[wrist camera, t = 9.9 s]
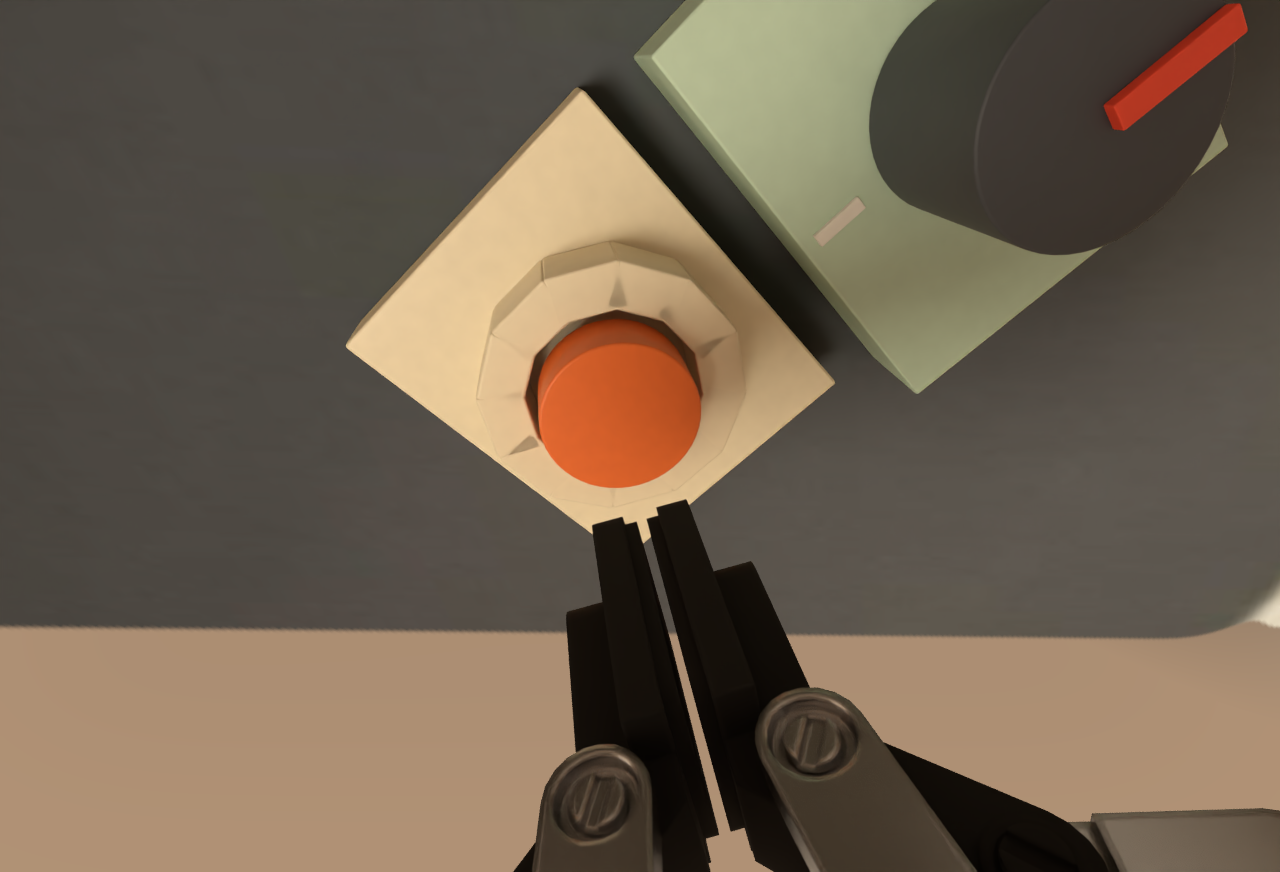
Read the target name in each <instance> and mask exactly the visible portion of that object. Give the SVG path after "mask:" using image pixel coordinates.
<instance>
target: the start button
mask: <svg viewBox="0 0 1280 872" xmlns="http://www.w3.org/2000/svg"><path fill="white" fill-rule="evenodd" d="M538 417H539V429H540V434H541V438H542V441H543V443H544V446H545V448H546V450H547V452H548V453H549V455H550V456H551V458H552V459H553V460H554V461H555V463H556V464H557V465H558V466H559V467H560V468H562V469H563V470H564V471H565V472H567V473H568V474H569V475H571V476H572V477H574V478H576V479H578V480H580V481H582V482H585V483H588V484H590V485H594V486H599V487H606V488H625V487H632V486H637V485H641V484H644V483H647V482H649V481H652V480H654V479H656V478H658V477H660V476H661V475H663V474H665V473H666V472H668V471H669V470H670V469H672V468H673V467H674V466H675V465H676V464H677V463H678V462H679V461H681V459H682V458H683V457H684V456H685V455H686V453H687V452H688V450H689V449H690V447H691V446H692V444H693V442H694V440H695V438H696V435H697V432H698V429H699V426H700V420H701V401H700V396H699V392H698V389H697V386H696V384H695V382H694V380H693V378H692V376H691V374H690V372H689V370H688V368H687V366H686V364H685V362H684V360H683V358H682V357H681V355H680V353H679V352H678V350H677V348H676V347H675V346H674V345H673V343H672V342H671V341H670V340H669V339H668V338H667V337H666V336H664V335H663V334H662V333H660V332H659V331H657V330H656V329H654V328H652V327H650V326H648V325H646V324H643V323H640V322H637V321H632V320H626V319H607V320H601V321H596V322H593V323H590V324H587V325H584V326H582V327H580V328H578V329H576V330H574V331H573V332H571V333H570V334H568V335H567V336H566V337H564V338H563V339H562V340H561V341H560V342H559V343H558V344H557V345H556V346H555V347H554V348H553V349H552V351H551V352H550V354H549V355H548V357H547V358H546V360H545V362H544V364H543V367H542V370H541V373H540V376H539V382H538Z"/></svg>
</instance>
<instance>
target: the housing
mask: <svg viewBox="0 0 1280 872" xmlns="http://www.w3.org/2000/svg"><path fill="white" fill-rule="evenodd" d="M607 319H626V320H632V321H637V322H640V323H643V324H646V325H648V326H650V327H652V328H654V329H656V330H657V331H659V332H660V333H662V334H663V335H664V336H666V337H667V338H668V339H669V340H670V341H671V342H672V343H673V345H674V346H675V347H676V348H677V350H678V352H679V353H680V355H681V357H682V358H683V360H684V362H685V364H686V366H687V368H688V370H689V372H690V374H691V376H692V378H693V380H694V382H695V384H696V386H697V389H698V392H699V396H700V401H701V420H700V426H699V429H698V432H697V435H696V438H695V440H694V442H693V444H692V446H691V447H690V449H689V450H688V452H687V453H686V455H685V456H684V457H683V458H682V459H681V461H679V462H678V463H677V464H676V465H675V466H674V467H673V468H672V469H670V470H669V471H668V472H666V473H665V474H663V475H661V476H660V477H658V478H656V479H654V480H652V481H649V482H647V483H644V484H641V485H637V486H632V487H625V488H606V487H599V486H594V485H590V484H588V483H585V482H582V481H580V480H578V479H576V478H574V477H572V476H571V475H569V474H568V473H567V472H565V471H564V470H563V469H562V468H560V467H559V466H558V465H557V464H556V463H555V461H554V460H553V459H552V458H551V456H550V455H549V453H548V452H547V450H546V448H545V446H544V443H543V441H542V438H541V434H540V429H539V417H538V382H539V376H540V373H541V370H542V367H543V364H544V362H545V360H546V358H547V357H548V355H549V354H550V352H551V351H552V349H553V348H554V347H555V346H556V345H557V344H558V343H559V342H560V341H561V340H562V339H563V338H564V337H566V336H567V335H568V334H570V333H571V332H573V331H574V330H576V329H578V328H580V327H582V326H584V325H587V324H590V323H593V322H596V321H601V320H607ZM346 347H347V349H349V350H350V351H351V352H353V353H354V354H355V355H357V356H358V357H359V358H361V359H362V360H363V361H365V362H366V363H367V364H369V365H370V366H371V367H373V368H374V369H375V370H377V371H378V372H379V373H380V374H382V375H383V376H384V377H386V378H387V379H388V380H390V381H391V382H392V383H394V384H395V385H396V386H398V387H399V388H400V389H402V390H403V391H404V392H406V393H407V394H408V395H410V396H411V397H412V398H413V399H415V400H416V401H417V402H419V403H420V404H421V405H423V406H424V407H425V408H427V409H428V410H429V411H431V412H432V413H433V414H435V415H436V416H437V417H439V418H440V419H441V420H443V421H444V422H445V423H446V424H448V425H449V426H450V427H452V428H453V429H454V430H456V431H457V432H458V433H460V434H461V435H462V436H464V437H465V438H466V439H468V440H469V441H470V442H472V443H473V444H474V445H476V446H477V447H478V448H479V449H481V450H482V451H483V452H485V453H486V454H487V455H489V456H490V457H491V458H493V459H494V460H495V461H497V462H498V463H499V464H501V465H502V466H503V467H505V468H506V469H507V470H509V471H510V472H511V473H512V474H514V475H515V476H516V477H518V478H519V479H520V480H522V481H523V482H524V483H526V484H527V485H528V486H530V487H531V488H532V489H534V490H535V491H536V492H538V493H539V494H540V495H541V496H543V497H544V498H545V499H547V500H548V501H549V502H551V503H552V504H553V505H555V506H556V507H557V508H559V509H560V510H561V511H563V512H564V513H565V514H567V515H568V516H569V517H571V518H572V519H573V520H574V521H576V522H577V523H578V524H580V525H581V526H582V527H584V528H585V529H586V530H588V531H589V532H590V533H592V534H593V531H592V525H593V524H597V523H600V522H604V521H608V520H611V519H615V518H619V517H623V519H624V522H625V524H629V523H633V522H636V521H637V524H638V528H639V531H640V535H641V538H642V542H643V543H644V542H645V541H646V540H648V539H649V538H650V537H651V534H650V531H649V527H648V523H647V518H651V517H654V516H658V513H657V509H656V507H659V506H663V505H666V504H670V503H674V502H677V501H681V500H685V499H686V500H687V502H688V504H689V505H690V504H691V503H692V502H693V501H694V500H696V499H697V498H698V497H699V496H700V495H702V494H703V493H704V492H705V491H706V490H708V489H709V488H710V487H711V486H712V485H714V484H715V483H716V482H717V481H718V480H720V479H721V478H722V477H723V476H724V475H726V474H727V473H728V472H729V471H730V470H732V469H733V468H734V467H735V466H736V465H738V464H739V463H740V462H741V461H743V460H744V459H745V458H746V457H747V456H749V455H750V454H751V453H752V452H753V451H755V450H756V449H757V448H758V447H759V446H761V445H762V444H763V443H764V442H765V441H767V440H768V439H769V438H770V437H771V436H773V435H774V434H775V433H776V432H777V431H779V430H780V429H781V428H782V427H783V426H785V425H786V424H787V423H788V422H789V421H791V420H792V419H793V418H794V417H795V416H797V415H798V414H799V413H800V412H801V411H803V410H804V409H805V408H806V407H807V406H809V405H810V404H811V403H812V402H813V401H815V400H816V399H817V398H818V397H819V396H821V395H822V394H823V393H824V392H825V391H827V390H828V389H829V388H830V387H831V386H833V385H834V383H835V382H834V380H833V378H832V377H831V376H830V375H829V374H828V373H827V371H826V370H825V369H824V368H823V367H822V366H821V364H820V363H819V362H818V361H817V360H816V359H815V358H814V356H813V355H812V354H811V353H810V352H809V351H808V349H807V348H806V347H805V346H804V345H803V344H802V342H801V341H800V340H799V339H798V338H797V337H796V335H795V334H794V333H793V332H792V331H791V330H790V329H789V327H788V326H787V325H786V324H785V323H784V322H783V320H782V319H781V318H780V317H779V316H778V315H777V313H776V312H775V311H774V310H773V309H772V308H771V306H770V305H769V304H768V303H767V302H766V301H765V300H764V298H763V297H762V296H761V295H760V294H759V293H758V291H757V290H756V289H755V288H754V287H753V286H752V284H751V283H750V282H749V281H748V280H747V279H746V277H745V276H744V275H743V274H742V273H741V272H740V271H739V269H738V268H737V267H736V266H735V265H734V264H733V262H732V261H731V260H730V259H729V258H728V257H727V255H726V254H725V253H724V252H723V251H722V250H721V248H720V247H719V246H718V245H717V244H716V243H715V241H714V240H713V239H712V238H711V237H710V236H709V235H708V233H707V232H706V231H705V230H704V229H703V228H702V226H701V225H700V224H699V223H698V222H697V221H696V219H695V218H694V217H693V216H692V215H691V214H690V212H689V211H688V210H687V209H686V208H685V207H684V206H683V204H682V203H681V202H680V201H679V200H678V199H677V197H676V196H675V195H674V194H673V193H672V192H671V190H670V189H669V188H668V187H667V186H666V185H665V183H664V182H663V181H662V180H661V179H660V178H659V177H658V175H657V174H656V173H655V172H654V171H653V170H652V168H651V167H650V166H649V165H648V164H647V163H646V161H645V160H644V159H643V158H642V157H641V156H640V154H639V153H638V152H637V151H636V150H635V149H634V148H633V146H632V145H631V144H630V143H629V142H628V141H627V139H626V138H625V137H624V136H623V135H622V134H621V132H620V131H619V130H618V129H617V128H616V127H615V125H614V124H613V123H612V122H611V121H610V120H609V119H608V117H607V116H606V115H605V114H604V113H603V112H602V110H601V109H600V108H599V107H598V106H597V105H596V103H595V102H594V101H593V100H592V99H591V98H590V96H589V95H588V94H587V93H586V92H585V91H583V90H582V89H580V88H578V87H577V88H575V89H574V90H573V91H572V92H571V93H570V94H569V95H568V97H567V98H566V99H565V100H564V101H563V102H562V103H561V104H560V105H559V106H558V107H557V108H556V110H555V111H554V112H553V113H552V114H551V115H550V116H549V117H548V118H547V119H546V120H545V122H544V123H543V124H542V125H541V126H540V127H539V128H538V129H537V130H536V131H535V132H534V133H533V135H532V136H531V137H530V138H529V139H528V140H527V141H526V142H525V143H524V144H523V145H522V146H521V148H520V149H519V150H518V151H517V152H516V153H515V154H514V155H513V156H512V157H511V158H510V159H509V161H508V162H507V163H506V164H505V165H504V166H503V167H502V168H501V169H500V170H499V171H498V173H497V174H496V175H495V176H494V177H493V178H492V179H491V180H490V181H489V182H488V183H487V184H486V186H485V187H484V188H483V189H482V190H481V191H480V192H479V193H478V194H477V195H476V196H475V197H474V199H473V200H472V201H471V202H470V203H469V204H468V205H467V206H466V207H465V208H464V209H463V211H462V212H461V213H460V214H459V215H458V216H457V217H456V218H455V219H454V220H453V221H452V222H451V224H450V225H449V226H448V227H447V228H446V229H445V230H444V231H443V232H442V233H441V234H440V235H439V237H438V238H437V239H436V240H435V241H434V242H433V243H432V244H431V245H430V246H429V247H428V248H427V250H426V251H425V252H424V253H423V254H422V255H421V256H420V257H419V258H418V259H417V260H416V262H415V263H414V264H413V265H412V266H411V267H410V268H409V269H408V270H407V271H406V272H405V273H404V275H403V276H402V277H401V278H400V279H399V280H398V281H397V282H396V283H395V284H394V285H393V286H392V288H391V289H390V290H389V291H388V292H387V293H386V294H385V295H384V296H383V297H382V298H381V299H380V301H379V302H378V303H377V304H376V305H375V306H374V307H373V308H372V309H371V310H370V311H369V313H368V314H367V315H366V316H365V317H364V318H363V319H362V320H361V321H360V323H359V324H358V326H357V328H356V329H355V331H354V332H353V334H352V336H351V337H350V339H349V340H348V342H347V343H346Z"/></svg>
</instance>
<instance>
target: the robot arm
mask: <svg viewBox="0 0 1280 872" xmlns="http://www.w3.org/2000/svg"><path fill="white" fill-rule="evenodd" d="M656 509H657V513H658V516H654V517H651V518H647V523H648V527H649V531H650V534H651V538H652V542H653V546H654V549H655V553H656V557H657V561H658V564H659V568H660V572H661V576H662V579H663V583H664V587H665V591H666V594H667V598H668V602H669V606H670V610H671V613H672V617H673V621H674V625H675V628H676V632H677V636H678V639H679V643H680V647H681V651H682V655H683V658H684V662H685V666H686V670H687V674H688V677H689V681H690V685H691V688H692V692H693V696H694V700H695V703H696V707H697V711H698V714H699V718H700V721H701V725H702V729H703V733H704V736H705V739H706V743H707V747H708V751H709V754H710V758H711V762H712V765H713V769H714V772H715V776H716V780H717V783H718V787H719V791H720V794H721V798H722V802H723V805H724V809H725V812H726V816H727V820H728V823H729V827H730V831H735V830H738V829H741V828H745V830H746V834H747V837H748V841H749V844H750V848H751V851H753V854H754V857H755V861H756V862H758V863H760V864H762V865H763V866H765V867H767V868H769V869H770V870H772V871H773V872H1280V811H1279V810H1270V809H1263V808H1259V809H1226V810H1195V811H1163V812H1128V813H1096V814H1092V816H1091V821H1090V822H1066V821H1064V820H1063V819H1061V818H1059V817H1057V816H1055V815H1054V814H1052V813H1050V812H1048V811H1046V810H1043V809H1041V808H1038V807H1036V806H1034V805H1031V804H1029V803H1027V802H1024V801H1022V800H1019V799H1017V798H1015V797H1012V796H1010V795H1008V794H1005V793H1003V792H1000V791H998V790H996V789H993V788H991V787H989V786H986V785H984V784H981V783H979V782H976V781H974V780H972V779H970V778H967V777H965V776H963V775H960V774H958V773H955V772H953V771H950V770H948V769H946V768H943V767H941V766H939V765H936V764H934V763H931V762H929V761H927V760H924V759H922V758H920V757H917V756H915V755H913V754H910V753H907V752H905V751H903V750H901V749H898V748H896V747H893V746H891V745H889V744H886V743H884V742H883V741H882V740H881V739H880V737H879V736H878V735H877V733H876V732H875V730H874V729H873V728H872V726H871V725H870V724H869V722H868V721H867V719H866V718H865V717H864V715H863V714H862V713H861V712H860V711H859V710H858V709H857V708H856V706H855V705H853V704H852V702H851V701H849V700H847V699H846V698H844V697H842V696H841V695H839V694H837V693H835V692H832V691H829V690H824V689H821V688H810V687H809V685H808V682H807V680H806V678H805V676H804V674H803V671H802V669H801V667H800V665H799V663H798V661H797V658H796V656H795V654H794V652H793V649H792V647H791V645H790V643H789V641H788V638H787V636H786V634H785V632H784V630H783V628H782V625H781V623H780V621H779V619H778V617H777V614H776V612H775V610H774V608H773V606H772V603H771V601H770V599H769V597H768V595H767V592H766V590H765V588H764V586H763V584H762V581H761V579H760V577H759V575H758V573H757V571H756V569H755V567H754V565H753V563H752V562H751V561H750V562H746V563H743V564H739V565H736V566H732V567H728V568H725V569H721V570H717V571H714V572H713V569H712V566H711V564H710V561H709V558H708V555H707V553H706V550H705V547H704V545H703V542H702V539H701V537H700V534H699V531H698V528H697V526H696V523H695V520H694V518H693V515H692V512H691V510H690V507H689V504H688V502H687V500H686V499H685V500H681V501H677V502H674V503H670V504H666V505H663V506H659V507H656ZM592 531H593V538H594V545H595V552H596V559H597V566H598V573H599V580H600V587H601V594H602V601H603V602H601V603H598V604H594V605H590V606H587V607H583V608H580V609H576V610H572V611H569V612H567V615H566V624H567V638H568V652H569V666H570V679H571V691H572V692H571V693H572V707H573V720H574V734H575V747H576V753H575V754H573V755H571V756H570V757H568V758H567V759H566V760H565V761H564V762H563V763H562V764H561V765H560V766H559V767H558V768H557V769H556V770H555V771H554V773H553V774H552V776H551V778H550V779H549V781H548V783H547V784H546V786H545V790H544V793H543V797H542V800H541V806H540V813H539V821H538V829H537V836H536V843H535V844H534V845H533V846H532V848H531V849H530V850H529V852H528V853H527V854H526V856H525V857H524V858H523V860H522V861H521V862H520V864H519V865H518V866H517V868H516V869H515V870H514V872H710V868H709V863H711V860H710V856H709V852H708V847H707V843H706V838H710V837H713V836H717V835H719V833H718V828H717V824H716V820H715V816H714V812H713V808H712V804H711V800H710V796H709V792H708V788H707V784H706V780H705V776H704V772H703V768H702V764H701V760H700V756H699V752H698V749H697V744H696V740H695V736H694V733H693V728H692V725H691V720H690V716H689V713H688V708H687V705H686V700H685V697H684V692H683V689H682V685H681V681H680V677H679V673H678V669H677V665H676V661H675V657H674V653H673V649H672V645H671V641H670V637H669V634H668V630H667V627H666V623H665V620H664V616H663V612H662V609H661V605H660V602H659V598H658V595H657V591H656V588H655V584H654V581H653V577H652V574H651V570H650V567H649V563H648V559H647V556H646V552H645V549H644V545H643V542H642V538H641V535H640V531H639V528H638V524H637V521H636V522H633V523H629V524H625V522H624V519H623V517H619V518H615V519H611V520H608V521H604V522H600V523H597V524H593V525H592Z"/></svg>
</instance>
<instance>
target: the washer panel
mask: <svg viewBox="0 0 1280 872" xmlns="http://www.w3.org/2000/svg"><path fill="white" fill-rule="evenodd" d="M935 1H936V0H685V1H684V2H683V3H682V5H681V6H680V7H679V8H678V9H677V10H676V11H675V12H674V13H673V14H672V15H671V16H670V17H669V18H668V20H667V21H666V22H665V23H664V24H663V25H662V26H661V27H660V28H659V29H658V30H657V31H656V32H655V33H654V35H653V36H652V37H651V38H650V39H649V40H648V41H647V42H646V43H645V44H644V45H643V46H642V47H641V48H640V49H639V51H638V52H637V53H636V54H635V55H634V59H635V61H636V62H637V63H638V65H639V66H640V67H641V68H642V70H643V71H644V72H645V73H646V75H647V76H648V77H649V78H650V79H651V81H652V82H653V83H654V84H655V86H656V87H657V88H658V89H659V91H660V92H661V93H662V94H663V96H664V97H665V98H666V99H667V101H668V102H669V103H670V104H671V106H672V107H673V108H674V109H675V111H676V112H677V113H678V114H679V116H680V117H681V118H682V119H683V121H684V122H685V123H686V124H687V126H688V127H689V128H690V129H691V131H692V132H693V133H694V134H695V136H696V137H697V138H698V139H699V141H700V142H701V143H702V144H703V146H704V147H705V148H706V149H707V151H708V152H709V153H710V154H711V156H712V157H713V158H714V159H715V160H716V162H717V163H718V164H719V165H720V167H721V168H722V169H723V170H724V172H725V173H726V174H727V175H728V177H729V178H730V179H731V180H732V182H733V183H734V184H735V185H736V187H737V188H738V189H739V190H740V192H741V193H742V194H743V195H744V197H745V198H746V199H747V200H748V202H749V203H750V204H751V205H752V207H753V208H754V209H755V210H756V212H757V213H758V214H759V215H760V217H761V218H762V219H763V220H764V222H765V223H766V224H767V225H768V227H769V228H770V229H771V230H772V232H773V233H774V234H775V235H776V237H777V238H778V239H779V240H780V241H781V243H782V244H783V245H784V246H785V248H786V249H787V250H788V251H789V253H790V254H791V255H792V256H793V258H794V259H795V260H796V261H797V263H798V264H799V265H800V266H801V268H802V269H803V270H804V271H805V273H806V274H807V275H808V276H809V278H810V279H811V280H812V281H813V283H814V284H815V285H816V286H817V288H818V289H819V290H820V291H821V293H822V294H823V295H824V296H825V298H826V299H827V300H828V301H829V303H830V304H831V305H832V306H833V308H834V309H835V310H836V311H837V313H838V314H839V315H840V316H841V318H842V319H843V320H844V321H845V322H846V324H847V325H848V326H849V327H850V329H851V330H852V331H853V332H854V334H855V335H856V336H857V337H858V339H859V340H860V341H861V342H862V344H863V345H864V346H865V347H866V349H867V350H868V351H869V352H870V354H871V355H872V356H873V357H874V358H875V359H876V360H877V361H878V362H880V363H881V364H882V365H883V366H884V367H885V368H887V369H888V370H889V371H890V372H891V373H892V374H894V375H895V376H896V377H897V378H898V379H899V380H901V381H902V382H903V383H904V384H905V385H906V386H908V387H909V388H910V389H911V390H912V391H913V392H914V393H916V394H918V393H920V392H921V391H922V390H923V389H925V388H926V387H927V386H928V385H930V384H931V383H932V382H933V381H935V380H936V379H937V378H938V377H940V376H941V375H942V374H943V373H945V372H946V371H947V370H948V369H950V368H951V367H952V366H953V365H955V364H956V363H957V362H958V361H960V360H961V359H962V358H964V357H965V356H966V355H967V354H969V353H970V352H971V351H972V350H974V349H975V348H976V347H977V346H979V345H980V344H981V343H982V342H984V341H985V340H986V339H987V338H989V337H990V336H991V335H992V334H994V333H995V332H996V331H997V330H999V329H1000V328H1001V327H1002V326H1004V325H1005V324H1006V323H1007V322H1009V321H1010V320H1011V319H1012V318H1014V317H1015V316H1016V315H1017V314H1019V313H1020V312H1021V311H1022V310H1024V309H1025V308H1026V307H1027V306H1029V305H1030V304H1031V303H1032V302H1034V301H1035V300H1036V299H1037V298H1039V297H1040V296H1041V295H1042V294H1044V293H1045V292H1046V291H1047V290H1049V289H1050V288H1051V287H1052V286H1054V285H1055V284H1056V283H1057V282H1059V281H1060V280H1061V279H1062V278H1064V277H1065V276H1066V275H1067V274H1069V273H1070V272H1071V271H1072V270H1074V269H1075V268H1076V267H1077V266H1079V265H1080V264H1081V263H1082V262H1084V261H1085V260H1086V259H1087V258H1089V257H1090V256H1091V255H1092V254H1094V253H1095V252H1096V251H1097V250H1099V249H1100V248H1101V247H1099V248H1096V249H1093V250H1090V251H1086V252H1082V253H1076V254H1070V255H1046V254H1039V253H1035V252H1031V251H1028V250H1025V249H1022V248H1020V247H1017V246H1014V245H1012V244H1009V243H1006V242H1004V241H1001V240H999V239H996V238H993V237H991V236H988V235H986V234H983V233H980V232H978V231H975V230H973V229H970V228H967V227H965V226H962V225H960V224H957V223H954V222H952V221H949V220H946V219H944V218H941V217H939V216H936V215H933V214H931V213H928V212H926V211H923V210H920V209H918V208H916V207H914V206H911V205H909V204H907V203H906V202H905V201H903V200H902V199H900V198H899V197H898V196H897V195H896V194H895V193H894V192H893V191H892V190H891V189H890V188H889V187H888V185H887V184H886V183H885V181H884V180H883V178H882V176H881V175H880V173H879V171H878V169H877V166H876V163H875V160H874V158H873V154H872V149H871V144H870V134H869V116H870V108H871V101H872V96H873V92H874V88H875V85H876V82H877V79H878V76H879V74H880V71H881V68H882V66H883V64H884V62H885V60H886V58H887V56H888V54H889V52H890V51H891V49H892V47H893V46H894V44H895V43H896V41H897V40H898V38H899V37H900V35H901V34H902V33H903V32H904V30H905V29H906V28H907V27H908V25H909V24H910V23H911V22H912V21H913V20H914V19H915V18H916V17H917V16H918V15H919V14H920V13H921V12H922V11H923V10H925V9H926V8H927V7H928V6H930V5H931V4H932V3H933V2H935ZM1227 146H1228V143H1227V140H1226V137H1225V135H1224V132H1223V129H1222V126H1221V124H1220V126H1219V128H1218V130H1217V133H1216V135H1215V137H1214V139H1213V141H1212V143H1211V145H1210V147H1209V149H1208V150H1207V152H1206V154H1205V155H1204V157H1203V159H1202V160H1201V162H1200V164H1199V165H1198V166H1197V168H1196V169H1195V171H1194V172H1193V174H1194V173H1195V172H1196V171H1198V170H1199V169H1200V168H1201V167H1203V166H1204V165H1205V164H1206V163H1208V162H1209V161H1210V160H1211V159H1213V158H1214V157H1215V156H1216V155H1218V154H1219V153H1220V152H1221V151H1223V150H1224V149H1225V148H1226V147H1227ZM1193 174H1192V175H1193Z"/></svg>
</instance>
